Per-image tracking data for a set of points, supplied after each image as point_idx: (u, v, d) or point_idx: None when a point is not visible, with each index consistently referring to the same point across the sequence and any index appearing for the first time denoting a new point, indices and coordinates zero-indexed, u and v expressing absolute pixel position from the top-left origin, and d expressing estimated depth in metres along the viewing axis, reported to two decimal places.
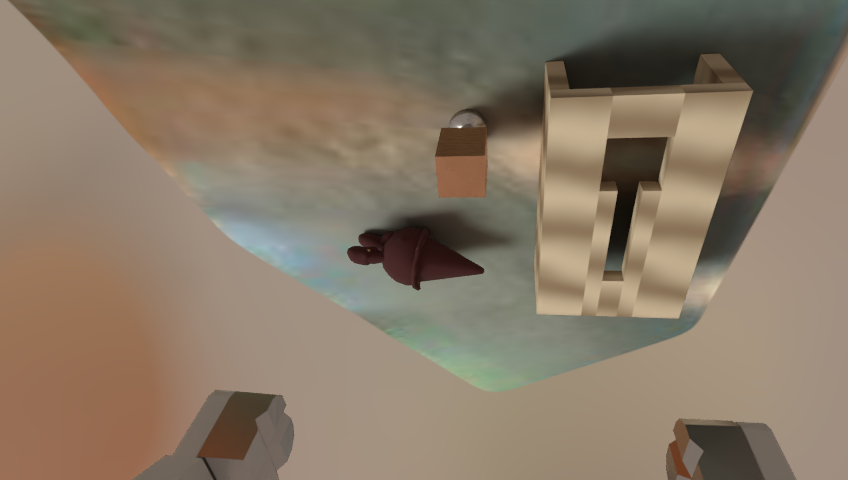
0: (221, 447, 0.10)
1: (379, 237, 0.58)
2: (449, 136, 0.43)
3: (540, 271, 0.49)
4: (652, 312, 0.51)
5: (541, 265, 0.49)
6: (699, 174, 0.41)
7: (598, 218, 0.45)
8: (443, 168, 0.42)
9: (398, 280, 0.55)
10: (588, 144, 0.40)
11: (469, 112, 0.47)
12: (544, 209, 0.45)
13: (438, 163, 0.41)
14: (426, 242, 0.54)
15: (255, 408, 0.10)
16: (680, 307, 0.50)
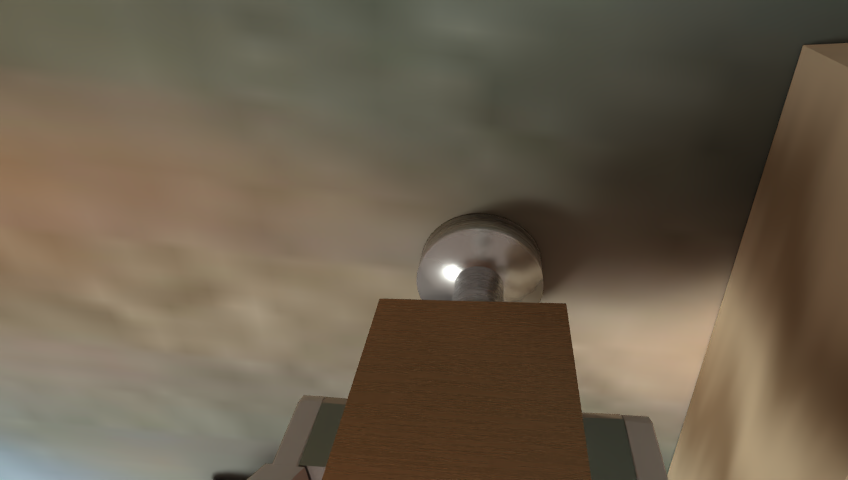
0: (322, 455, 0.09)
1: None
2: (407, 355, 0.10)
3: None
4: None
5: None
6: None
7: None
8: None
9: None
10: None
11: (487, 225, 0.14)
12: None
13: None
14: None
15: None
16: None
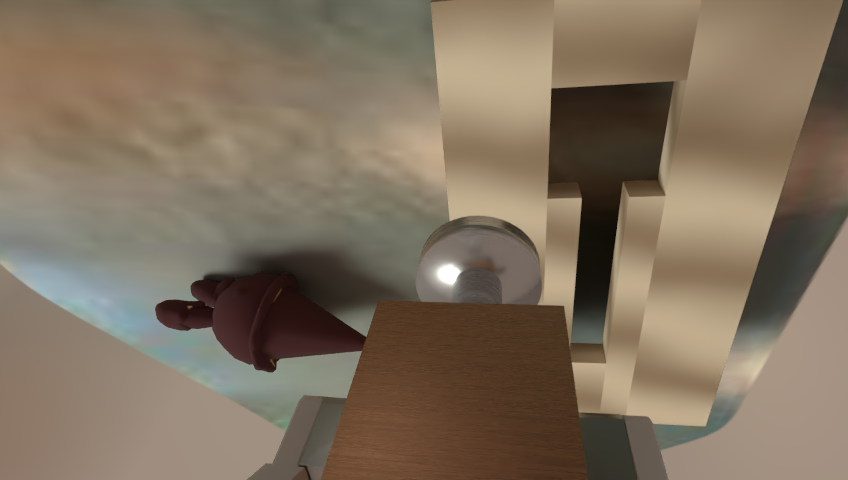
0: (323, 455, 0.09)
1: None
2: (405, 357, 0.10)
3: None
4: (659, 415, 0.30)
5: None
6: (738, 161, 0.21)
7: (550, 251, 0.24)
8: None
9: (235, 356, 0.35)
10: (517, 101, 0.20)
11: (486, 227, 0.14)
12: None
13: None
14: (280, 297, 0.34)
15: None
16: (708, 408, 0.29)
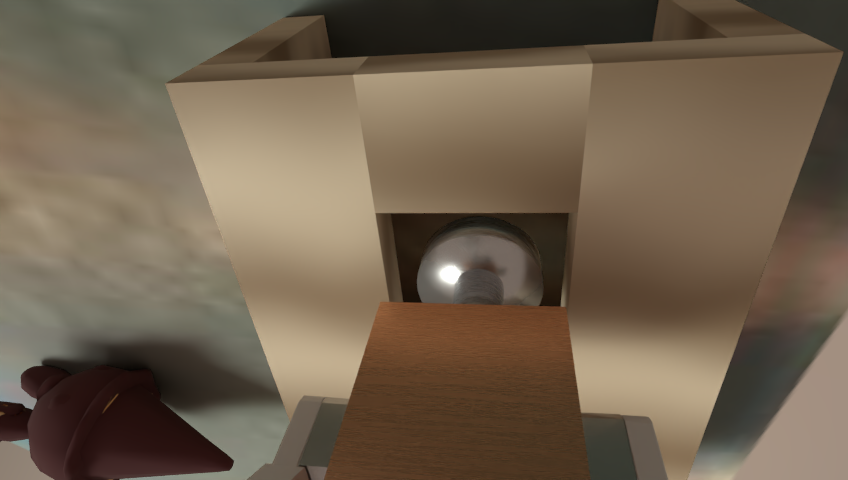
0: (322, 455, 0.09)
1: None
2: (407, 359, 0.10)
3: None
4: None
5: None
6: (664, 322, 0.14)
7: None
8: None
9: None
10: (328, 228, 0.13)
11: (488, 228, 0.14)
12: (278, 383, 0.17)
13: None
14: (113, 406, 0.27)
15: None
16: None
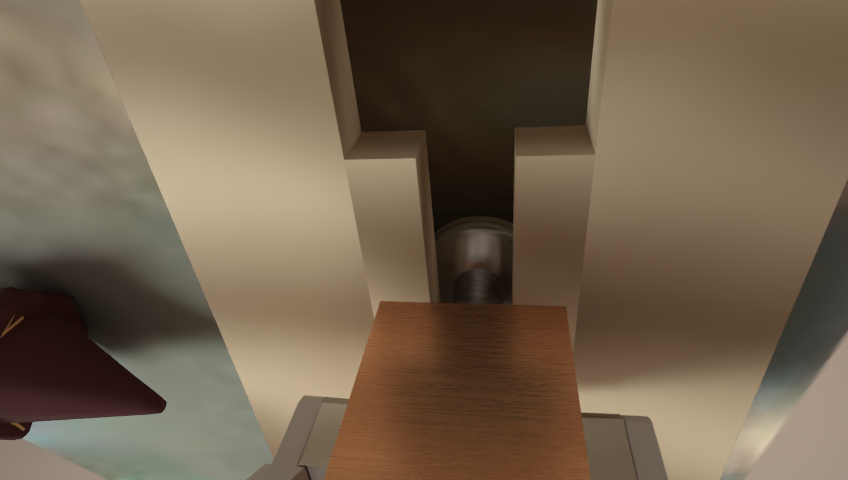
0: (323, 455, 0.09)
1: None
2: (407, 358, 0.10)
3: (263, 427, 0.16)
4: None
5: (258, 411, 0.16)
6: (764, 65, 0.08)
7: (374, 271, 0.12)
8: None
9: None
10: None
11: (488, 227, 0.14)
12: (183, 234, 0.12)
13: None
14: (16, 330, 0.22)
15: None
16: None
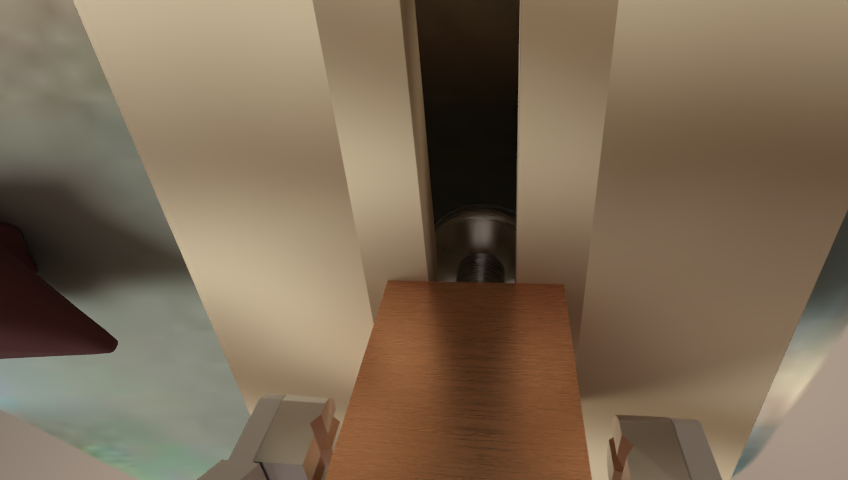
0: (278, 452, 0.09)
1: None
2: (414, 332, 0.10)
3: (219, 334, 0.14)
4: None
5: (211, 312, 0.13)
6: None
7: (341, 90, 0.09)
8: None
9: None
10: None
11: (489, 213, 0.14)
12: (99, 48, 0.10)
13: None
14: None
15: (309, 412, 0.10)
16: (727, 471, 0.14)
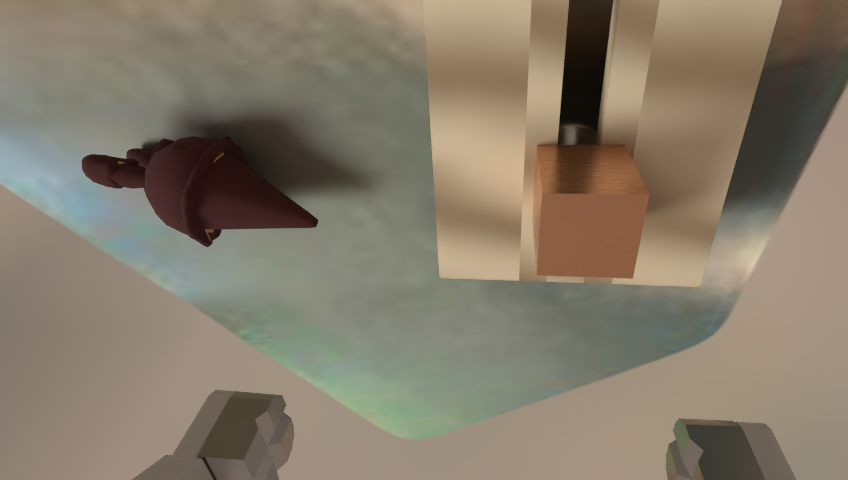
0: (221, 447, 0.10)
1: None
2: (558, 158, 0.22)
3: (435, 182, 0.26)
4: (650, 273, 0.27)
5: (435, 167, 0.25)
6: None
7: (535, 46, 0.22)
8: (555, 218, 0.20)
9: (167, 221, 0.32)
10: None
11: (577, 124, 0.27)
12: (426, 26, 0.22)
13: (546, 207, 0.20)
14: (221, 160, 0.32)
15: (255, 408, 0.10)
16: (703, 262, 0.26)
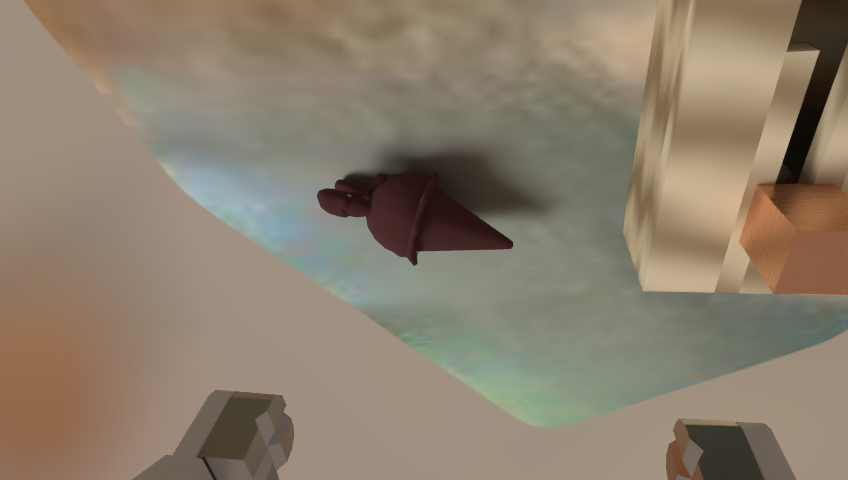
0: (221, 447, 0.10)
1: (365, 186, 0.40)
2: (786, 198, 0.28)
3: (659, 214, 0.31)
4: None
5: (663, 202, 0.31)
6: None
7: (774, 108, 0.27)
8: (802, 250, 0.26)
9: (388, 245, 0.37)
10: None
11: None
12: (683, 93, 0.27)
13: (798, 241, 0.25)
14: (435, 193, 0.37)
15: (255, 408, 0.10)
16: None
